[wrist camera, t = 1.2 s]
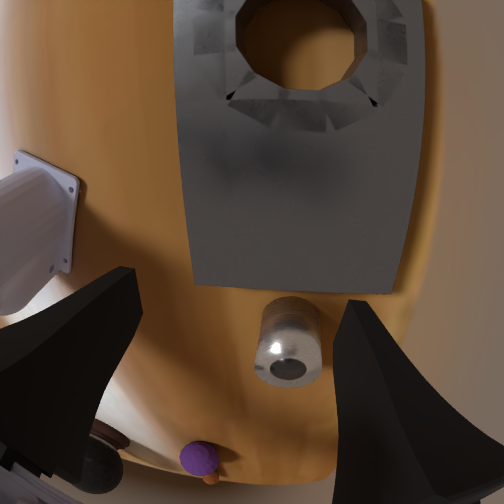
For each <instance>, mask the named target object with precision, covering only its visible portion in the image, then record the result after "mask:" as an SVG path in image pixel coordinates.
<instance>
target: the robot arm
mask: <svg viewBox="0 0 504 504" xmlns="http://www.w3.org/2000/svg"><path fill="white" fill-rule="evenodd" d="M79 186H80V182H79V179H78V178H77V177H76V176H73V175H71V174H69V173H67V172H65V171H63V170H61V169H59V168H57V167H55V166H53V165H51V164H49V163H47V162H45V161H43V160H40V159H38V158H36V157H34V156H32V155H30V154H28V153H26V152H24V151H22V150H17V151H15V154H14V165H13V174H11V175H9V176H7V177H5V178H3V179H1V180H0V315H1V316H5V315H10V314H13V313H16V312H18V311H20V310H21V309H23V308H24V307H25V306H26V305H27V304H28V303H29V302H30V301H31V300H32V298H33V297H34V296H35V295H36V294H37V293H38V292H39V291H40V290H41V289H42V288H43V287H44V286H45V285H46V284H47V283H48V282H49V281H50V280H51V279H52V278H53V277H54V276H55V275H56V274H57V273H58V272H59V271H60V270H61V271H63V272H64V273H69V272H70V271H71V262H72V245H73V233H74V223H75V214H76V206H77V199H78V192H79ZM72 188H73V189H74V191H73V190H72ZM142 315H143V310H142V305H141V300H140V295H139V289H138V284H137V278H136V272H135V269H134V268H128V267H123V266H119V267H117V268H115V269H113V270H111V271H110V272H108V273H106V274H104V275H103V276H101V277H99V278H98V279H96V280H94V281H93V282H91V283H89V284H88V285H86V286H84V287H83V288H81V289H79V290H78V291H76V292H74V293H73V294H71V295H69V296H67V297H66V298H64V299H62V300H60V301H59V302H57V303H55V304H53V305H52V306H50V307H48V308H46V309H44V310H42V311H40V312H38V313H36V314H34V315H32V316H30V317H28V318H26V319H24V320H21V321H19V322H17V323H14V324H11V325H9V326H6V327H4V328H1V329H0V504H83V503H81V502H79V501H77V500H75V499H73V498H72V497H70V496H68V495H66V494H64V493H63V492H61V491H59V490H57V489H55V488H54V487H52V486H50V485H49V484H48V483H46V482H44V481H43V480H41V479H40V475H41V473H43V474H45V475H46V476H48V477H49V478H51V477H52V475H53V474H55V475H57V476H59V477H60V478H62V479H64V480H66V481H67V482H69V483H71V484H76V483H79V482H81V475H82V468H83V462H84V456H85V452H86V447H87V443H88V439H89V435H90V431H91V428H92V425H93V422H94V418H95V415H96V412H97V409H98V407H99V404H100V401H101V399H102V396H103V393H104V391H105V389H106V387H107V385H108V383H109V381H110V379H111V377H112V375H113V373H114V371H115V370H116V368H117V366H118V364H119V362H120V361H121V359H122V357H123V355H124V353H125V352H126V350H127V348H128V346H129V344H130V343H131V341H132V339H133V337H134V335H135V332H136V330H137V328H138V325H139V322H140V320H141V317H142ZM333 374H334V384H335V394H336V404H337V415H338V432H339V439H338V457H337V469H336V479H335V487H334V493H333V500H332V504H480V499H482V498H484V497H486V496H488V495H490V494H492V493H494V492H496V491H497V490H499V489H501V488H503V487H504V446H503V445H502V444H500V443H498V442H497V441H495V440H494V439H492V438H490V437H489V436H487V435H486V434H485V433H483V432H482V431H481V430H479V429H478V428H477V427H475V426H474V425H473V424H472V423H470V422H469V421H468V420H467V419H465V418H464V417H463V416H462V415H461V414H460V413H459V412H457V411H456V410H455V409H454V408H453V407H452V406H451V405H450V404H449V403H448V402H447V401H446V400H445V399H444V398H443V397H441V396H440V394H439V393H438V392H437V391H436V390H435V389H434V388H433V387H432V386H431V385H430V384H429V383H428V382H427V381H426V379H425V378H424V377H423V376H422V375H421V374H420V372H419V371H418V370H417V369H416V367H415V366H414V365H413V364H412V363H411V361H410V360H409V359H408V358H407V356H406V355H405V354H404V352H403V351H402V350H401V348H400V347H399V346H398V344H397V343H396V342H395V340H394V339H393V338H392V336H391V335H390V333H389V332H388V331H387V329H386V328H385V326H384V325H383V324H382V322H381V321H380V319H379V318H378V317H377V315H376V314H375V312H374V311H373V310H372V308H371V307H370V305H369V304H368V303H367V302H366V301H359V300H350V299H349V301H348V303H347V306H346V309H345V312H344V315H343V318H342V320H341V323H340V326H339V329H338V331H337V334H336V337H335V339H334V342H333Z"/></svg>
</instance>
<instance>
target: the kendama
mask: <svg viewBox="0 0 504 504" xmlns="http://www.w3.org/2000/svg"><path fill="white" fill-rule="evenodd" d="M180 461H181V464H182V466H183V467H184V469H185V470H186V471H187V472H189V473H191V474H192V475H196V476H203V480H204V481H205V482H206V483H207V484H215V483H216V482H217V481H218V480H219V475H218V474H217V472H215V470H216V468H217V467H218V465H219V456H218V453H217V451H216V449H215V448H214V447H213V446H212V445H210V444H208V443H206V442H201V441H196V442H191V443H189V444H187V445H185V447H184V448H183V449H182V450H181V454H180Z"/></svg>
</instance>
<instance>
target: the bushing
mask: <svg viewBox="0 0 504 504" xmlns="http://www.w3.org/2000/svg"><path fill="white" fill-rule="evenodd" d="M254 369H255V372H256V374H257V376H258V377H259V378H260V379H261V380H263V381H264V382H266V383H268V384H270V385H273V386H277V387H282V388H295V387H301V386H305V385H307V384H310V383H311V382H313V381H315V380H316V379H317V378H318V377H319V376H320V374H321V372H322V354H321V337H320V322H319V313H318V310H317V309H316V307H315V306H314V305H313V304H312V303H311V302H309V301H307V300H306V299H303V298H300V297H293V296H288V297H281V298H278V299H275V300H274V301H272V302H270V303H269V304H268V305H267V306H266V307H265V309H264V311H263V314H262V320H261V327H260V333H259V340H258V346H257V353H256V359H255V366H254Z"/></svg>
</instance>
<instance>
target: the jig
mask: <svg viewBox="0 0 504 504" xmlns="http://www.w3.org/2000/svg"><path fill="white" fill-rule="evenodd" d="M273 1H275V0H174V13H173V34H174V77H175V99H176V116H177V131H178V145H179V157H180V168H181V178H182V188H183V198H184V207H185V215H186V224H187V232H188V239H189V247H190V254H191V261H192V268H193V275H194V282H195V285H207V286H221V287H235V288H250V289H267V290H285V291H306V292H329V293H360V294H391V292H392V289H393V285H394V282H395V278H396V275H397V271H398V267H399V264H400V260H401V256H402V252H403V248H404V244H405V239H406V235H407V230H408V226H409V221H410V216H411V211H412V206H413V200H414V195H415V189H416V183H417V176H418V169H419V162H420V154H421V145H422V135H423V123H424V108H425V76H426V65H425V35H424V21H423V10H422V1H421V0H319V1H321V2H323V3H325V4H327V5H329V6H330V7H332V8H334V9H336V10H338V11H339V12H340V14H341V15H342V16H343V18H344V19H345V21H346V22H347V24H348V25H349V27H350V28H351V30H352V31H353V33H354V52H355V59H354V61H353V62H352V64H351V65H350V67H349V68H348V70H347V71H346V73H345V74H344V76H343V77H342V79H341V81H338V82H336V83H334V84H332V85H329V86H327V87H325V88H323V89H321V90H319V91H318V90H299V89H284V88H282V87H280V86H279V85H277V84H275V83H273V82H271V81H269V80H267V79H265V78H264V77H262V76H260V75H259V74H258V72H257V71H256V69H255V68H254V66H253V65H252V63H251V62H250V60H249V59H248V58H247V56H246V55H245V29H246V27H247V25H248V24H249V22H250V21H251V19H252V18H253V16H254V15H255V13H256V12H257V10H258V9H259V8H260V7H262V6H264V5H266V4H268V3H271V2H273Z"/></svg>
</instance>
